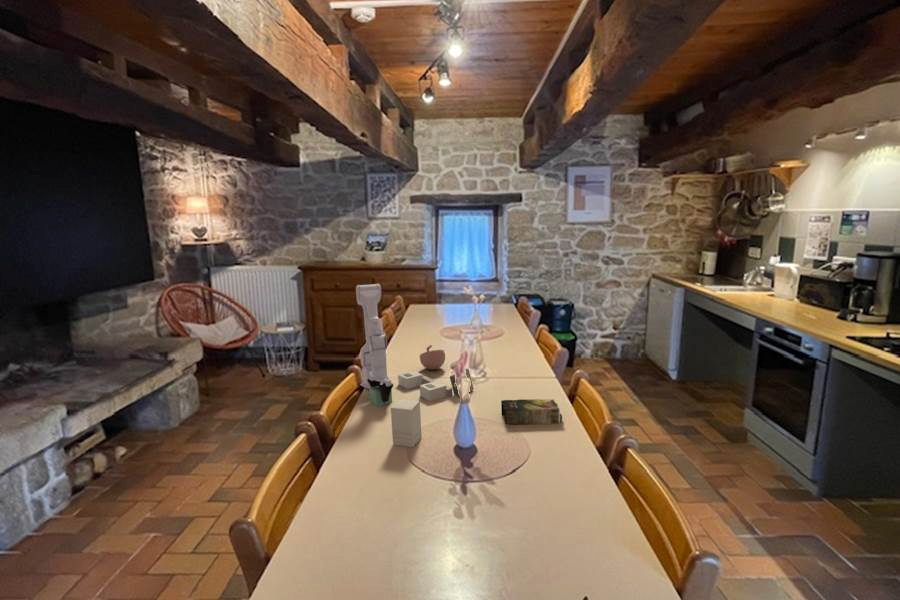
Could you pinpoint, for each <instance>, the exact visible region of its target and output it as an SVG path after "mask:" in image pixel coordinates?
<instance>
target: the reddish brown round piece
mask: <svg viewBox="0 0 900 600" xmlns="http://www.w3.org/2000/svg"><path fill="white" fill-rule="evenodd" d="M432 346H433V345H432V344H430V345H429V346H427V347H426V351H424V352H423V353H420V354H419V360H420V364H421V365H422V366H423V367H424V368H425V369H427V370H431V371H435V370H438V369H440V368H441V367H442V366H443V365H444V363H445V361H446V353H445V350H443V349H434V350H433V349H432V350H430V349H431V348H432Z"/></svg>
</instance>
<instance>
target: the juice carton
mask: <svg viewBox="0 0 900 600" xmlns="http://www.w3.org/2000/svg"><path fill="white" fill-rule="evenodd" d="M500 403H501V415H504V421H505V422H504V423H505V424H506V425H508V424H509V425H511V424H515V425H539V424H540V425H541V424H560V423H561V421H563V415H562V413H561V412H560V407H559V406H558V405H559V404H558V403H557V402H556V400H555V399H551V398H546V399H545V398H543V399H541V398H540V399H539V398H538V399H537V398H536V399H529V398H528V399H527V398H526V399H504V400H501V402H500Z"/></svg>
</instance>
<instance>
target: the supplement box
mask: <svg viewBox="0 0 900 600" xmlns="http://www.w3.org/2000/svg"><path fill="white" fill-rule="evenodd" d="M390 415H391V416H390V417H391V431H392V432H391V435H392V445H396V446H404V447H410V448H414V447H415V444H416V445H417V443H419V441H420V440H421V439H420V438H422V437H423V436H422V419H421V416H422V415H421V401H420V400H413V399H412V400H411V399H401V398H400V399H399V400H398V401H396V402H395V403H394V404H393V405H392V406H391V407H390ZM419 439H420V440H419Z"/></svg>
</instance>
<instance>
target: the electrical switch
mask: <svg viewBox="0 0 900 600" xmlns="http://www.w3.org/2000/svg"><path fill="white" fill-rule="evenodd" d="M465 369H466V375H467V377H468V378H470V380H471V386H470V392H469V393H471V392H473V391H474V389H475V388H474V385H473V381H472V375H471V374H470V370H469V368H465ZM455 374H456V373H454V374H452V375H450V376H449V379H450V383H451V388H452V393H453V395H454V396H455V395H457V396H458V397H459V394H458V389H457V386H456V384H455Z"/></svg>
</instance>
